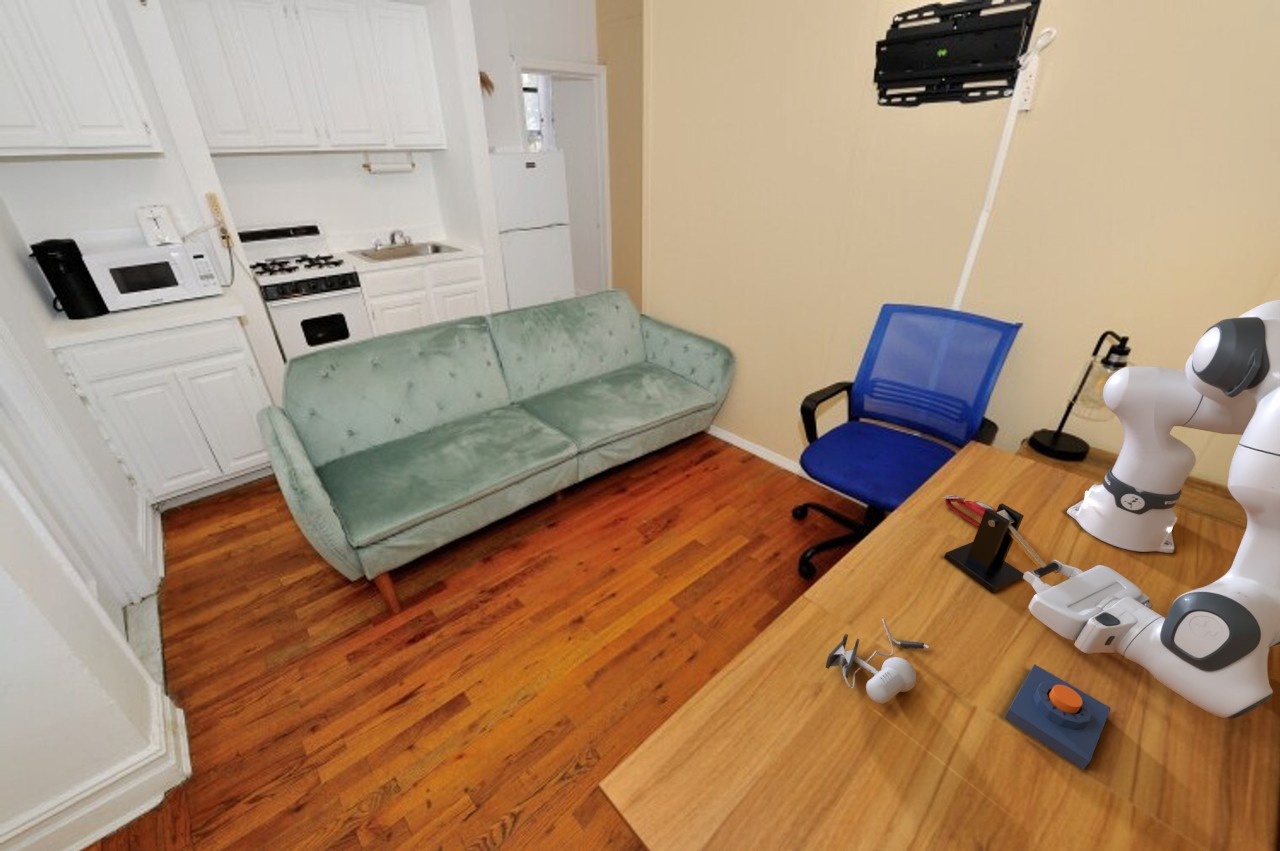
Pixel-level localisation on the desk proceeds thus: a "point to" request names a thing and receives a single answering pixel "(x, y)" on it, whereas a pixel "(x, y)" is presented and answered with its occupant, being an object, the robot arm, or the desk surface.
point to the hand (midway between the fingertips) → (1038, 568)
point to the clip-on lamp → (885, 682)
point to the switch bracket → (989, 551)
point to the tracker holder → (967, 507)
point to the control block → (1058, 718)
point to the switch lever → (1029, 549)
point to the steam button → (1065, 699)
